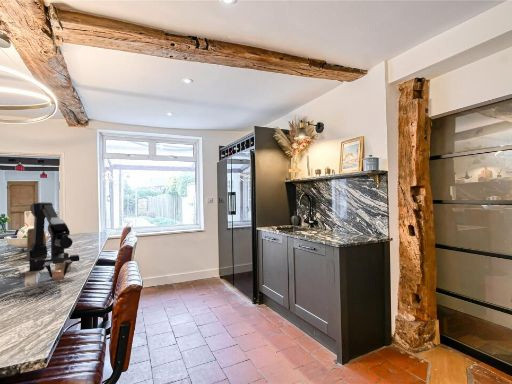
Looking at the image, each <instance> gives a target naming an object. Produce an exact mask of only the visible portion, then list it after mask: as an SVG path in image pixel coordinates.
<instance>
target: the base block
mask: <svg viewBox="0 0 512 384" xmlns="http://www.w3.org/2000/svg"><path fill="white" fill-rule="evenodd" d="M64 267H65V264H64V265H57V264H54V269H55V270H64ZM71 267H72V265H71V264H70V265H69V267H68V269H67V271H71ZM67 271H66V272H67Z"/></svg>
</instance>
